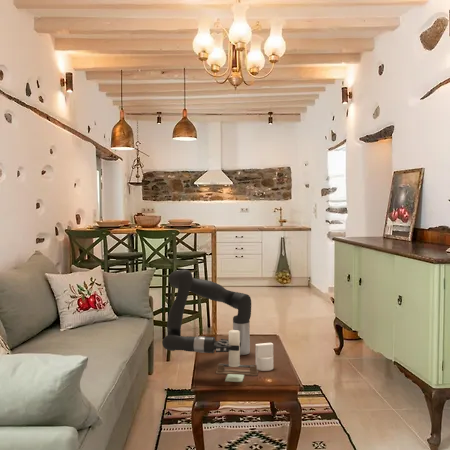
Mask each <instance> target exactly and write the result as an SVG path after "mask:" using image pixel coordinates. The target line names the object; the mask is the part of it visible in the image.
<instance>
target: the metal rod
mask: <svg viewBox="0 0 450 450" xmlns="http://www.w3.org/2000/svg"><path fill="white" fill-rule="evenodd" d="M219 365H224V368H225V367H226V368H231V367H230V366H229V363H224V364H219ZM254 365H255V364H250V365H249V364H240V366H238V367H237V368H247V369H248V368H249V369H250V366H254ZM254 367H255V366H254Z"/></svg>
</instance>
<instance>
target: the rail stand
mask: <svg viewBox="0 0 450 450" xmlns="http://www.w3.org/2000/svg"><path fill="white" fill-rule="evenodd" d="M219 364H225V363H223V362H218V364H216V365H217V367H216V369H217V370H216V372H215V374H217V375H228V374H240V375H244V376H253V377H254V376H255V377H256V376H258V374H259V370H257V365H256V364H253V365H254V366H255V367H254V366H250V368H249V369H234V368H225V367H224V365H219Z"/></svg>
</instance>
